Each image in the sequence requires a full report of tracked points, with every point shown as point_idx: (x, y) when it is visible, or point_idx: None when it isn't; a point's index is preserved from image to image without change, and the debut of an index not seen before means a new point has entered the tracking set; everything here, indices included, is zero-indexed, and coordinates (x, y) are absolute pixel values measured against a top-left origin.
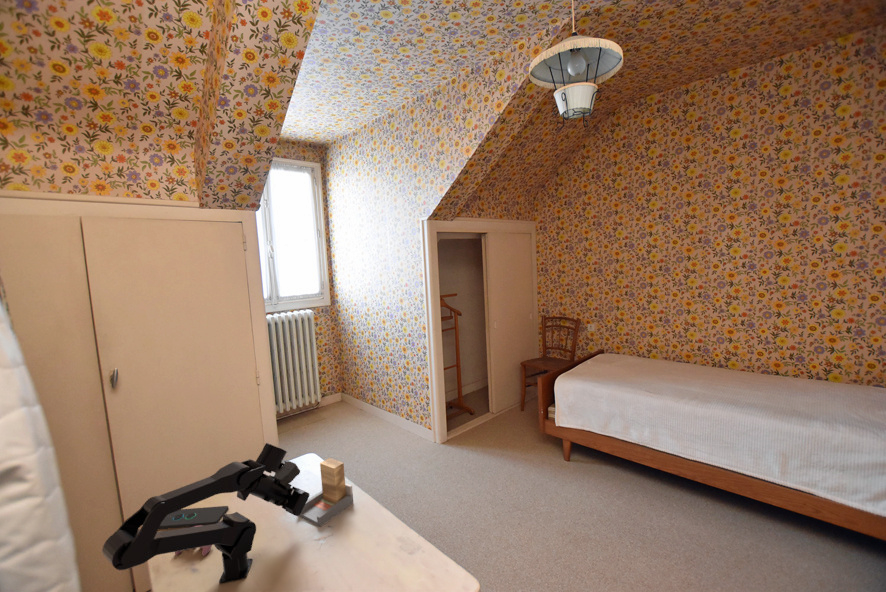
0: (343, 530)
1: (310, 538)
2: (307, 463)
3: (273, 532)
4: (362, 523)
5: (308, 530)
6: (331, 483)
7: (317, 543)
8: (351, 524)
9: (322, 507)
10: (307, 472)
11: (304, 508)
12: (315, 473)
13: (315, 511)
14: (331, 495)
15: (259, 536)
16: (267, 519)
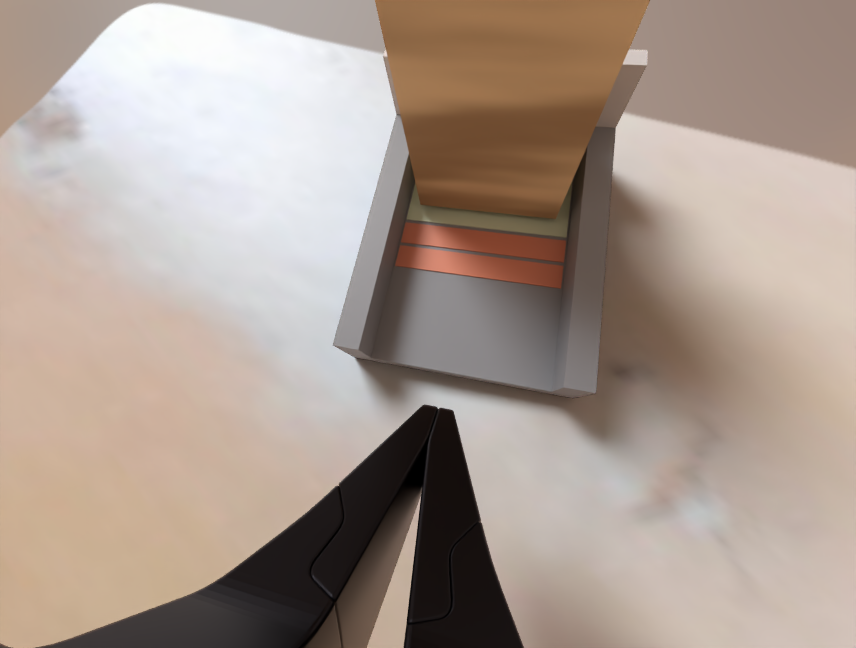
0: (749, 375)
1: (598, 515)
2: (134, 32)
3: None
4: (811, 280)
5: (522, 451)
6: (545, 89)
7: (688, 545)
8: (749, 311)
9: (471, 265)
10: (174, 77)
11: (375, 320)
12: (219, 68)
13: (453, 308)
14: (512, 180)
15: None
16: (195, 450)
